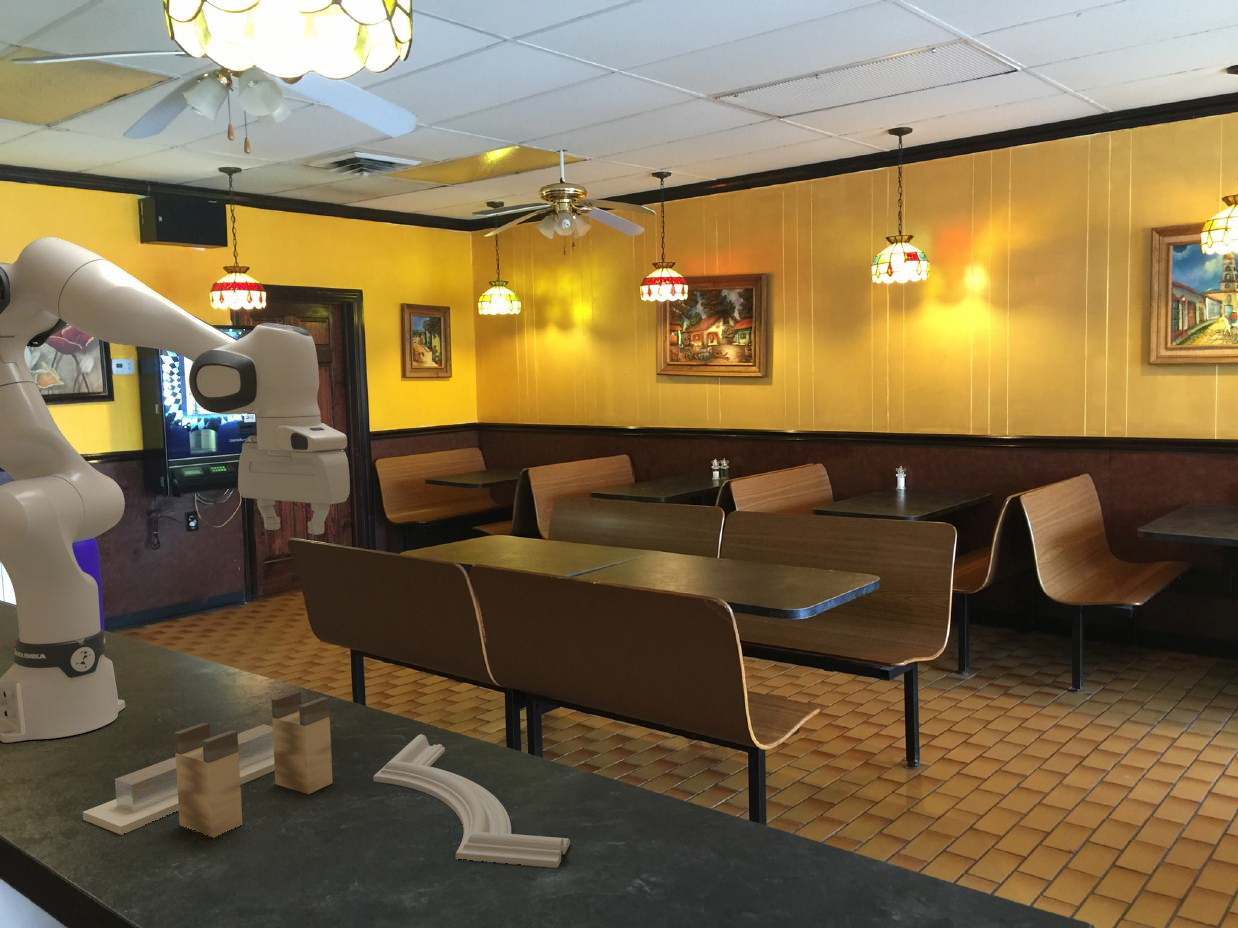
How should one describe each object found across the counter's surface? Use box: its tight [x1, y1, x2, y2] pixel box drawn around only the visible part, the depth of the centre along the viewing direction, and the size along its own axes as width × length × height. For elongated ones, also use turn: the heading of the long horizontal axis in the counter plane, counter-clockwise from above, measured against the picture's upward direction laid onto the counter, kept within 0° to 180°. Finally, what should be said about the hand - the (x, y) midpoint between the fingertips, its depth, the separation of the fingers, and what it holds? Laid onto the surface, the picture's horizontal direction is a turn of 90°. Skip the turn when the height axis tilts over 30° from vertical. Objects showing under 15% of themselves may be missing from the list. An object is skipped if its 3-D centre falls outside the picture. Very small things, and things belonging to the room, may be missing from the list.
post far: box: [271, 690, 333, 795], centre depth 131 cm, size 6×4×12 cm, turn 58°
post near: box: [174, 722, 243, 839], centre depth 119 cm, size 6×4×12 cm, turn 58°
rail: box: [114, 723, 274, 813], centre depth 131 cm, size 4×22×4 cm, turn 148°
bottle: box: [72, 537, 106, 638], centre depth 193 cm, size 8×8×30 cm
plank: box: [82, 756, 275, 836], centre depth 131 cm, size 8×28×1 cm, turn 148°
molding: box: [372, 734, 571, 869], centre depth 124 cm, size 42×12×3 cm, turn 34°
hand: (294, 531), depth 145 cm, fingers open, 8 cm apart
